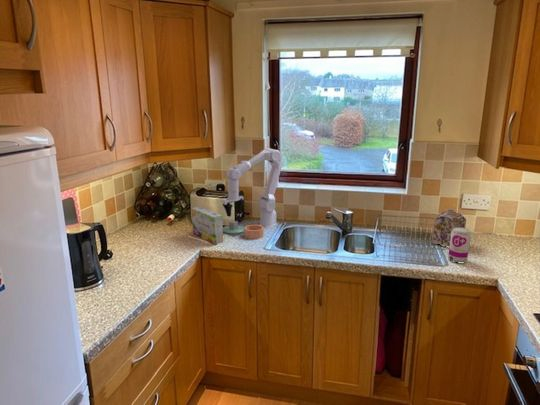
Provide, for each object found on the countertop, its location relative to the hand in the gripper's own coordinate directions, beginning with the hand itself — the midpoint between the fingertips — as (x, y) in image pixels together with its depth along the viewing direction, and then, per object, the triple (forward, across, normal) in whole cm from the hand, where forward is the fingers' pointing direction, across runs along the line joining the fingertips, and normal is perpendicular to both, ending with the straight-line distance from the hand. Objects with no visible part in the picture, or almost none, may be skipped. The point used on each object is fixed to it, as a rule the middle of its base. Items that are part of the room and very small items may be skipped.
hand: (233, 214), depth 226 cm
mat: (+9, 0, 0) cm, 9 cm away
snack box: (+10, +18, -2) cm, 20 cm away
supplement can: (+10, -34, +108) cm, 114 cm away
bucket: (+9, 0, +14) cm, 17 cm away
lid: (+9, 0, 0) cm, 9 cm away
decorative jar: (+10, -54, +98) cm, 113 cm away
